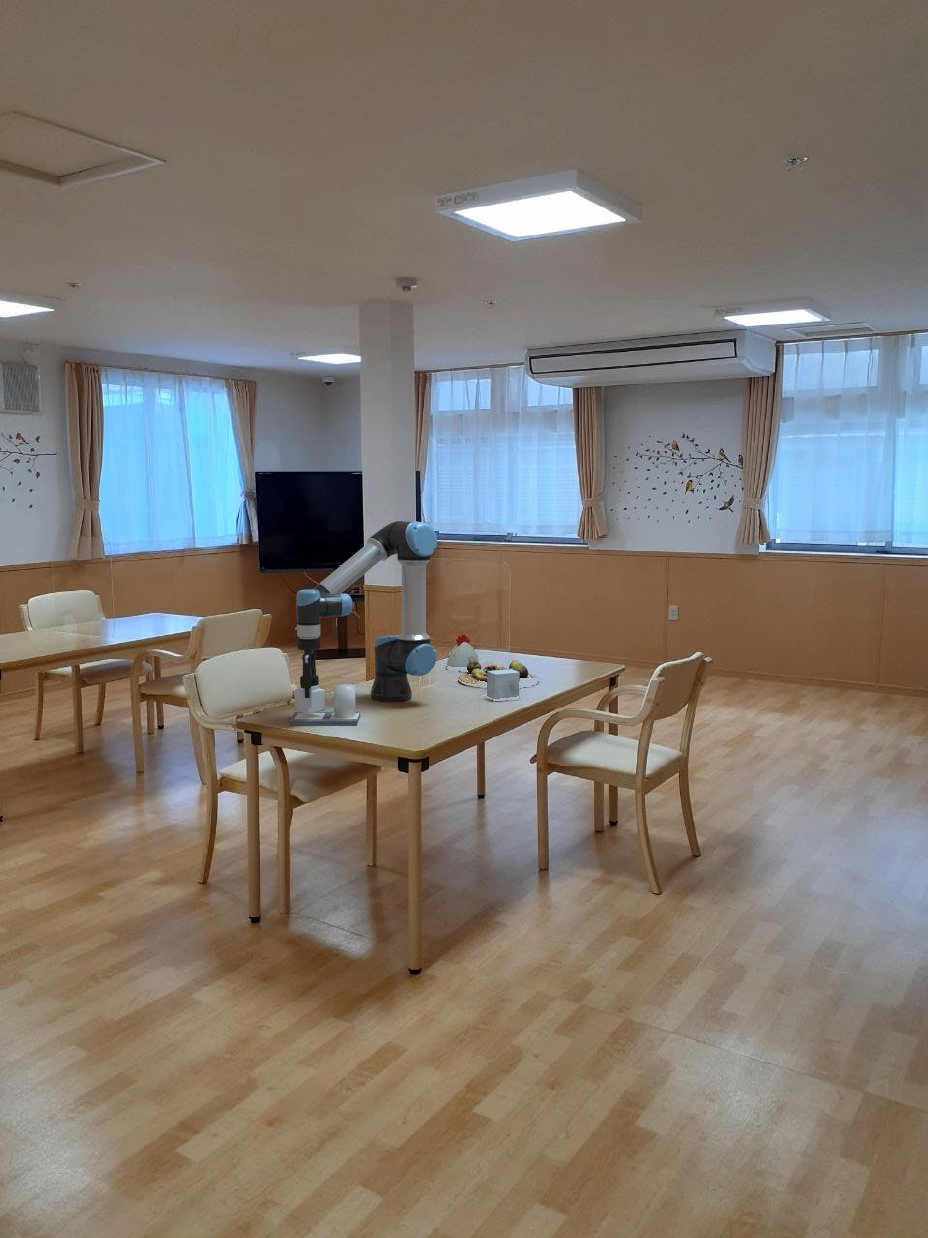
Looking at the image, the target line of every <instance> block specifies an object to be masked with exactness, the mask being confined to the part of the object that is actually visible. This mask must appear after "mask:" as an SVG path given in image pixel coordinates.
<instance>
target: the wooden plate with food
mask: <svg viewBox="0 0 928 1238" xmlns="http://www.w3.org/2000/svg"><path fill="white" fill-rule="evenodd" d="M509 669H513V670H515V671H518V672H520V678H529V677H528V675H529V676H530V677H531V678H538V677H537V676H536V675H535V674H532V673H529V670H528V668H527V667H526V666H525V665H524V664H522V663H521V662H520V661H519V660H517V659H513V660H512V662H510V664H509V666H508V668H507V667H504V666H500V667H499V666H498V665H496V664H490V665H486V666H485V667H483V669H482V665H481V663H480V661H479V662H477V661H475V660H472V661H470V663H469V664H468V665H467V670H468V672H462V673H461V674H460V675H459V676H458V678H459V679H460V680H461V681H463V682H466V683H471V684H479V683H477V682H479V680H480V681H485V682H487V671H495V670H509ZM469 674H470V675H469ZM466 678H468V679H469V680H467V679H466ZM470 680H471V681H470ZM473 681H475V682H473Z"/></svg>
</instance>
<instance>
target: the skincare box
mask: <svg viewBox="0 0 928 1238" xmlns="http://www.w3.org/2000/svg"><path fill="white" fill-rule="evenodd" d="M508 669H509V668H508ZM519 682H520V672H518V671H515V670H513V669H509V670H495V671H487V689H486V697H487V696H488V697H490V698H492V699H500V698H509V697H517V696H519V697H520V689H519Z"/></svg>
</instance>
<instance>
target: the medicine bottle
mask: <svg viewBox="0 0 928 1238" xmlns="http://www.w3.org/2000/svg"><path fill="white" fill-rule="evenodd" d="M302 681H303V674H302V675H300V677H299V688H297V689H294V712H303V713H308V714H309V713H314V712H325V708H326V707H325V706H326V705H325V701H326V700H325V698H326V697H325V689H323V688H320V685H319V675H317V674H316V675H315V674H312V679H311V688H312V708H304V703H303V688H301V686H302ZM305 684H308V683H305Z"/></svg>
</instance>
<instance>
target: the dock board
mask: <svg viewBox="0 0 928 1238" xmlns="http://www.w3.org/2000/svg"><path fill="white" fill-rule="evenodd" d="M355 715H356V716H355V717H352V718H336V717H334V711H319V712H314V713H309V714H308V713H303V712H299V711H294V712H293V714H292V715H291V717H290V718H289V720H288V726H289V725H299V727H301V726H302V727H303V726H304V727H305V726H307V727H309V726H311V727H313V726H315V727H316V726H321V727H322V726H325V727H326V726H329V727H330V726H333V727H335V726H339V727H341V726H342V727H343V726H347V727H348V726H352V727H353V726H354V727H355V726H358V723H359V720H360V718H361V711H355Z"/></svg>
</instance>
